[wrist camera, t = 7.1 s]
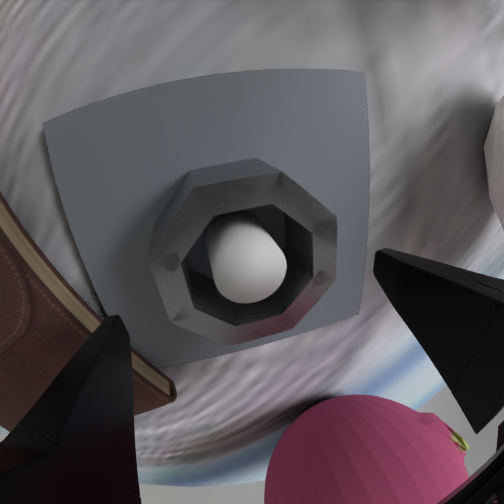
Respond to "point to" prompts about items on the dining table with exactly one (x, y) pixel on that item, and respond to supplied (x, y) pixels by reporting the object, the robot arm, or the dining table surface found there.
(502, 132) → the geodesic sphere
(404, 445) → the pink dragon fruit
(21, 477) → the robot arm
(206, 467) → the dining table surface
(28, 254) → the notebook
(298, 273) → the ring
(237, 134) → the gray square plate
